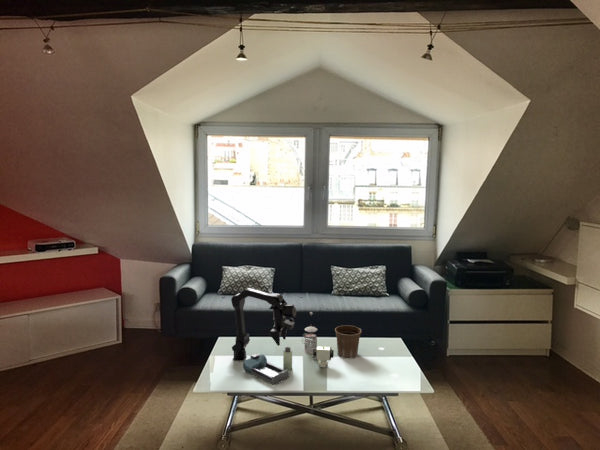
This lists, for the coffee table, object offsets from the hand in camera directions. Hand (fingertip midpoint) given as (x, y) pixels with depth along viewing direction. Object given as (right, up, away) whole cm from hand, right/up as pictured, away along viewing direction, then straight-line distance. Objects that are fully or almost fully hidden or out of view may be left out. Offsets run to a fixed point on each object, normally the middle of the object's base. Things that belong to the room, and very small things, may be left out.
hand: (281, 342), depth 255 cm
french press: (+17, -12, +24) cm, 31 cm away
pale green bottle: (+3, -15, -2) cm, 15 cm away
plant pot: (+40, -13, +18) cm, 46 cm away
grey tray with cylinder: (-9, -15, -9) cm, 20 cm away
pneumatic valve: (+24, -15, +3) cm, 28 cm away
